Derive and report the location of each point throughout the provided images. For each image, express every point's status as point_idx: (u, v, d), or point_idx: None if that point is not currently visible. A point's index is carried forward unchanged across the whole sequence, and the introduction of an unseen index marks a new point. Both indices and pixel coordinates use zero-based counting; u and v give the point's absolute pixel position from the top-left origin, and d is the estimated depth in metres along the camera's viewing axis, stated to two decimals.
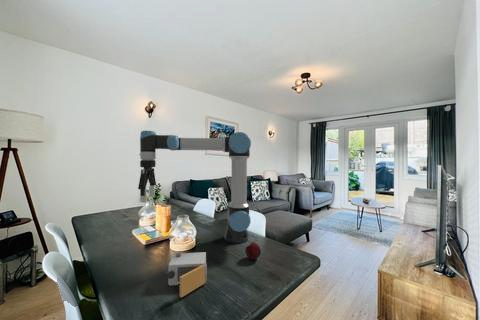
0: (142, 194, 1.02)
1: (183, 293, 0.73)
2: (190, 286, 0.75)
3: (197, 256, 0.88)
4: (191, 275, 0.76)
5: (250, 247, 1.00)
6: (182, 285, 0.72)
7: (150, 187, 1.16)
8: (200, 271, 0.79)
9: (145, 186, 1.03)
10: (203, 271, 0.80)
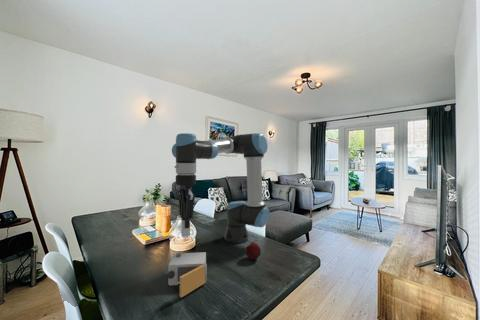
0: (187, 226, 0.77)
1: (183, 293, 0.73)
2: (190, 286, 0.75)
3: (197, 256, 0.88)
4: (191, 275, 0.76)
5: (250, 247, 1.00)
6: (182, 285, 0.72)
7: None
8: (200, 271, 0.79)
9: None
10: (203, 271, 0.80)
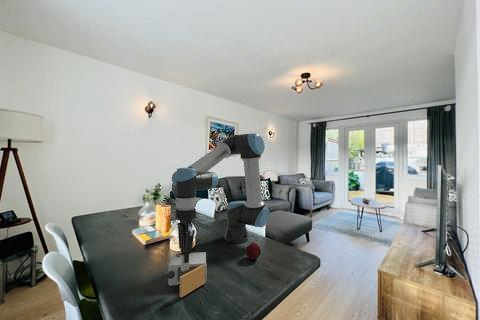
0: (187, 261, 0.77)
1: (183, 293, 0.73)
2: (190, 286, 0.75)
3: (197, 256, 0.88)
4: (191, 275, 0.76)
5: (250, 247, 1.00)
6: (182, 285, 0.72)
7: None
8: (200, 271, 0.79)
9: None
10: (203, 271, 0.80)
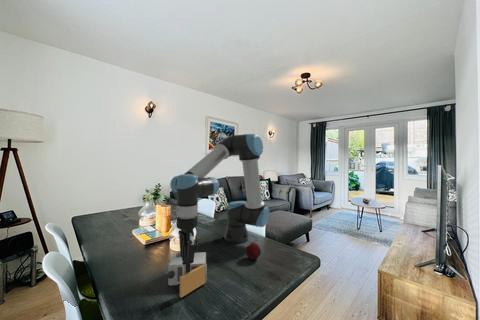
0: (188, 270, 0.75)
1: (183, 293, 0.73)
2: (190, 286, 0.75)
3: (197, 256, 0.88)
4: (191, 275, 0.76)
5: (250, 247, 1.00)
6: (182, 285, 0.72)
7: None
8: (200, 271, 0.79)
9: None
10: (203, 271, 0.80)
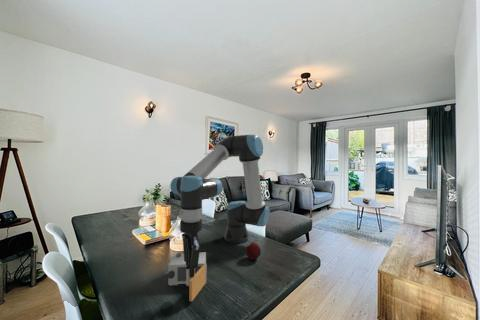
0: (192, 275, 0.72)
1: (193, 296, 0.71)
2: (197, 289, 0.74)
3: None
4: (198, 277, 0.74)
5: (250, 247, 1.00)
6: (192, 288, 0.71)
7: None
8: (203, 272, 0.79)
9: None
10: (205, 271, 0.80)
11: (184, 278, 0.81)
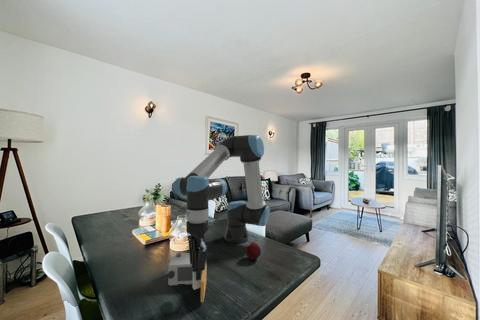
0: (199, 278, 0.70)
1: (203, 296, 0.71)
2: (204, 289, 0.74)
3: None
4: None
5: (250, 247, 1.00)
6: (203, 289, 0.70)
7: None
8: None
9: None
10: (206, 271, 0.80)
11: (184, 278, 0.81)
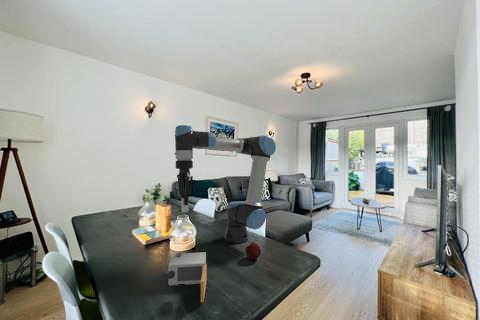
0: (186, 203, 0.92)
1: (203, 296, 0.71)
2: (204, 289, 0.74)
3: (197, 256, 0.88)
4: None
5: (250, 247, 1.00)
6: (203, 289, 0.70)
7: None
8: None
9: None
10: (206, 271, 0.80)
11: (184, 278, 0.81)
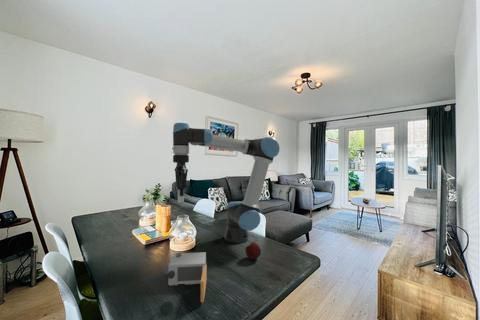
0: (182, 194, 1.00)
1: (203, 296, 0.71)
2: (204, 289, 0.74)
3: (197, 256, 0.88)
4: None
5: (250, 247, 1.00)
6: (203, 289, 0.70)
7: None
8: None
9: None
10: (206, 271, 0.80)
11: (184, 278, 0.81)
